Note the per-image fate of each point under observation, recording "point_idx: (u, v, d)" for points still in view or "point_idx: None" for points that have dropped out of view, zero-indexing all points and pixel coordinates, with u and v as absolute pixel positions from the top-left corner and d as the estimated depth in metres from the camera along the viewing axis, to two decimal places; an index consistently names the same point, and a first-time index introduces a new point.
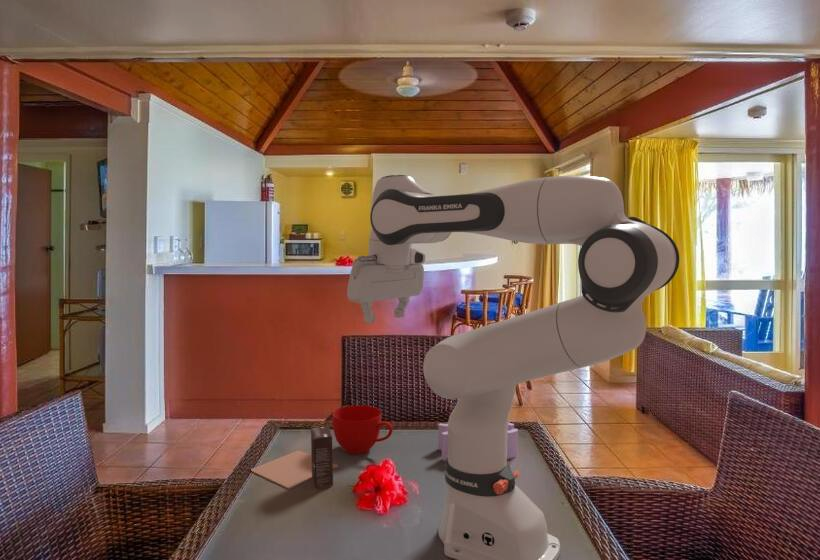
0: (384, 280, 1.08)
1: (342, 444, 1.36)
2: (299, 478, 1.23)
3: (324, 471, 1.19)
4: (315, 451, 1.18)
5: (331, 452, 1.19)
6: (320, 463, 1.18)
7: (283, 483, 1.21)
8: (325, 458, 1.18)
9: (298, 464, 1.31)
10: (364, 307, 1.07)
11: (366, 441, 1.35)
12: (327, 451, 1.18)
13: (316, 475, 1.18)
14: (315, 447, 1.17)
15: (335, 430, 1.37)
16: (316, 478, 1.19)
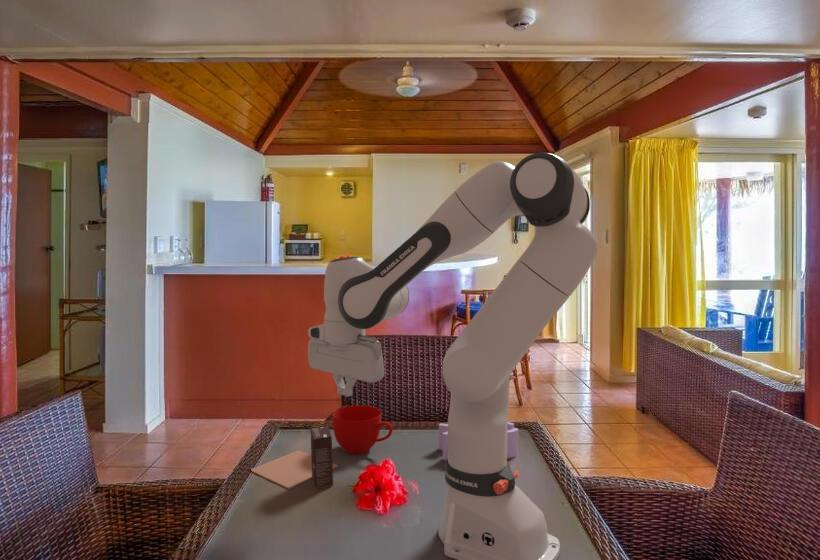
0: None
1: (342, 444, 1.36)
2: (299, 478, 1.23)
3: (324, 471, 1.19)
4: (315, 451, 1.17)
5: (331, 452, 1.19)
6: (319, 464, 1.18)
7: (283, 483, 1.21)
8: (324, 458, 1.18)
9: (298, 464, 1.31)
10: (352, 382, 1.13)
11: (366, 441, 1.35)
12: (326, 451, 1.18)
13: (316, 475, 1.18)
14: (315, 447, 1.17)
15: (335, 430, 1.37)
16: (316, 478, 1.19)
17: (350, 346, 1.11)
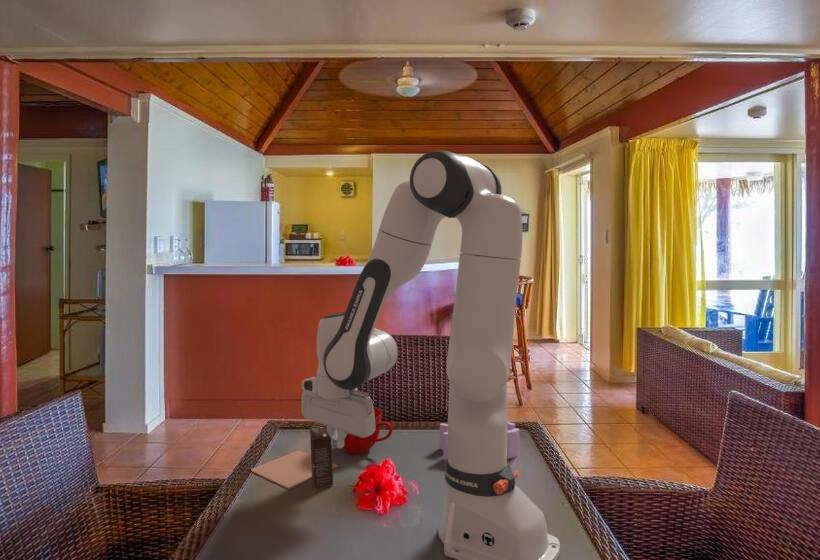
0: None
1: None
2: (299, 478, 1.23)
3: (323, 470, 1.19)
4: (314, 451, 1.18)
5: (330, 452, 1.19)
6: (319, 463, 1.18)
7: (283, 483, 1.21)
8: (324, 458, 1.18)
9: (298, 464, 1.31)
10: (344, 434, 1.16)
11: (366, 441, 1.35)
12: (326, 451, 1.18)
13: (316, 475, 1.18)
14: (314, 447, 1.17)
15: None
16: (316, 478, 1.19)
17: (342, 401, 1.13)
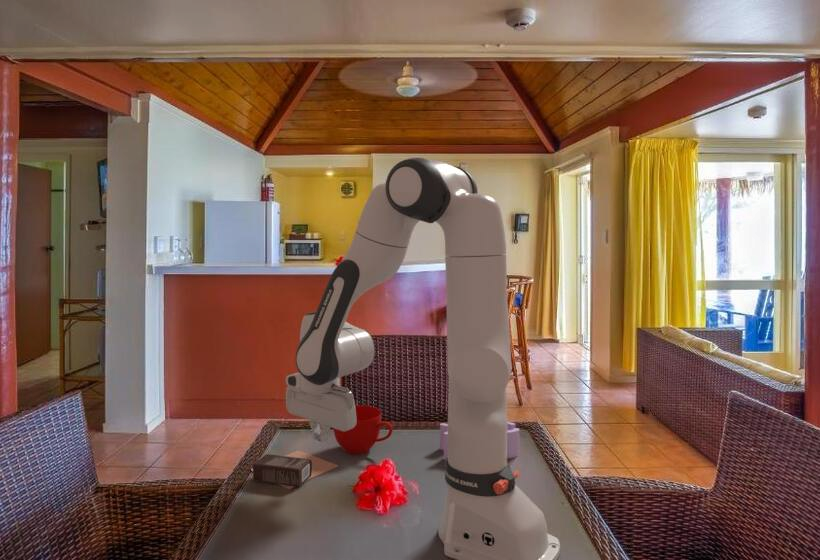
0: None
1: (342, 444, 1.36)
2: None
3: (284, 476, 1.19)
4: (265, 481, 1.21)
5: (267, 466, 1.20)
6: (277, 478, 1.20)
7: None
8: (272, 473, 1.20)
9: None
10: (327, 428, 1.20)
11: (366, 441, 1.35)
12: (266, 470, 1.21)
13: (287, 483, 1.19)
14: (261, 480, 1.21)
15: (335, 430, 1.37)
16: (290, 484, 1.19)
17: (324, 395, 1.17)
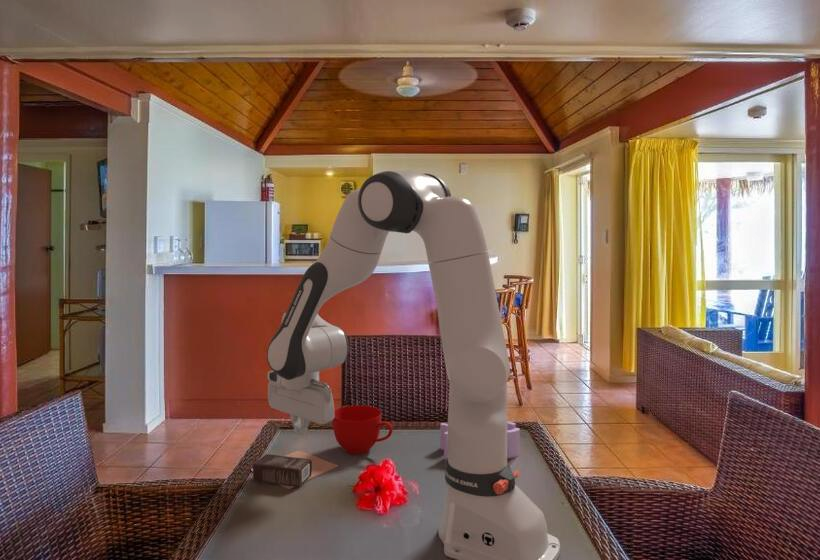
0: None
1: (342, 444, 1.36)
2: None
3: (284, 476, 1.19)
4: (265, 481, 1.21)
5: (267, 466, 1.20)
6: (277, 478, 1.20)
7: None
8: (272, 473, 1.20)
9: None
10: (307, 422, 1.24)
11: (366, 441, 1.35)
12: (266, 470, 1.21)
13: (287, 484, 1.19)
14: (261, 480, 1.21)
15: (335, 430, 1.37)
16: (290, 484, 1.19)
17: (304, 390, 1.21)
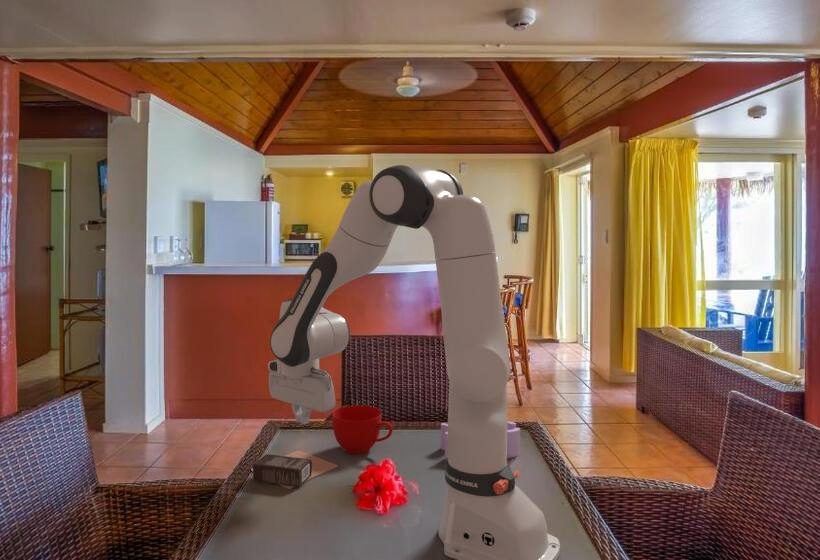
0: None
1: (342, 444, 1.36)
2: None
3: (284, 476, 1.19)
4: (265, 481, 1.21)
5: (267, 466, 1.20)
6: (277, 478, 1.20)
7: None
8: (272, 473, 1.20)
9: None
10: (308, 411, 1.24)
11: (366, 441, 1.35)
12: (266, 470, 1.21)
13: (287, 484, 1.19)
14: (261, 480, 1.21)
15: (335, 430, 1.37)
16: (290, 484, 1.19)
17: (304, 379, 1.21)
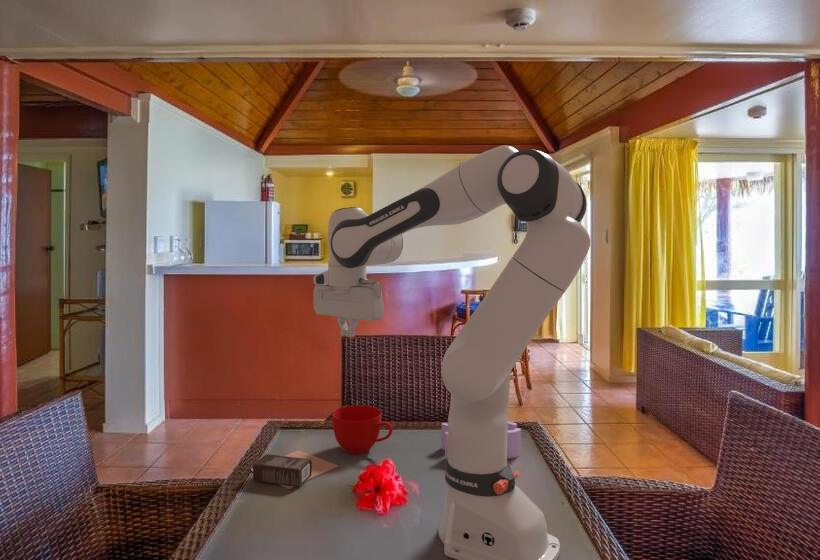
0: None
1: (342, 444, 1.36)
2: None
3: (284, 476, 1.19)
4: (265, 481, 1.21)
5: (267, 466, 1.20)
6: (277, 478, 1.20)
7: None
8: (272, 473, 1.20)
9: None
10: (355, 323, 1.23)
11: (366, 441, 1.35)
12: (266, 470, 1.21)
13: (287, 484, 1.19)
14: (261, 480, 1.21)
15: (335, 430, 1.37)
16: (290, 484, 1.19)
17: (352, 289, 1.20)
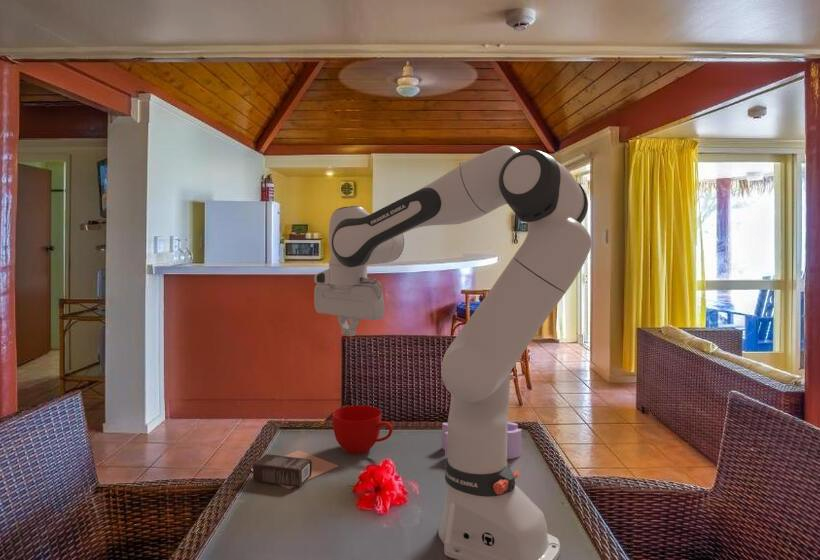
0: None
1: (342, 444, 1.36)
2: None
3: (284, 476, 1.19)
4: (265, 481, 1.21)
5: (267, 466, 1.20)
6: (277, 478, 1.20)
7: None
8: (272, 473, 1.20)
9: None
10: (355, 322, 1.23)
11: (366, 441, 1.35)
12: (266, 470, 1.21)
13: (287, 484, 1.19)
14: (261, 480, 1.21)
15: (335, 430, 1.37)
16: (290, 484, 1.19)
17: (353, 288, 1.20)
